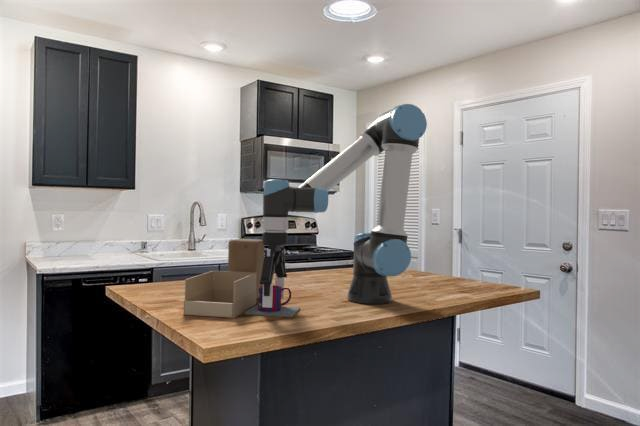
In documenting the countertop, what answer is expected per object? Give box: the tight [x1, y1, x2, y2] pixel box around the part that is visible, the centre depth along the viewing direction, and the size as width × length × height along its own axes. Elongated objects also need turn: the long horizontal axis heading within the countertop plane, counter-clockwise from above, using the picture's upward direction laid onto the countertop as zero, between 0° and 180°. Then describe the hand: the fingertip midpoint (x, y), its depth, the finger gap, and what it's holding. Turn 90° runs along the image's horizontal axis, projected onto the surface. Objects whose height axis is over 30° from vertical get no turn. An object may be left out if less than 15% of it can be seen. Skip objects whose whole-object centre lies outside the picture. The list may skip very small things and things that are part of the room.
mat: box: [244, 304, 301, 318], centre depth 139 cm, size 14×11×1 cm
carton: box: [183, 270, 258, 319], centre depth 141 cm, size 15×21×10 cm
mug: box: [257, 284, 292, 312], centre depth 139 cm, size 7×10×7 cm
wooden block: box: [227, 238, 265, 299], centre depth 160 cm, size 10×10×20 cm
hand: (273, 302), depth 139 cm, fingers open, 13 cm apart
